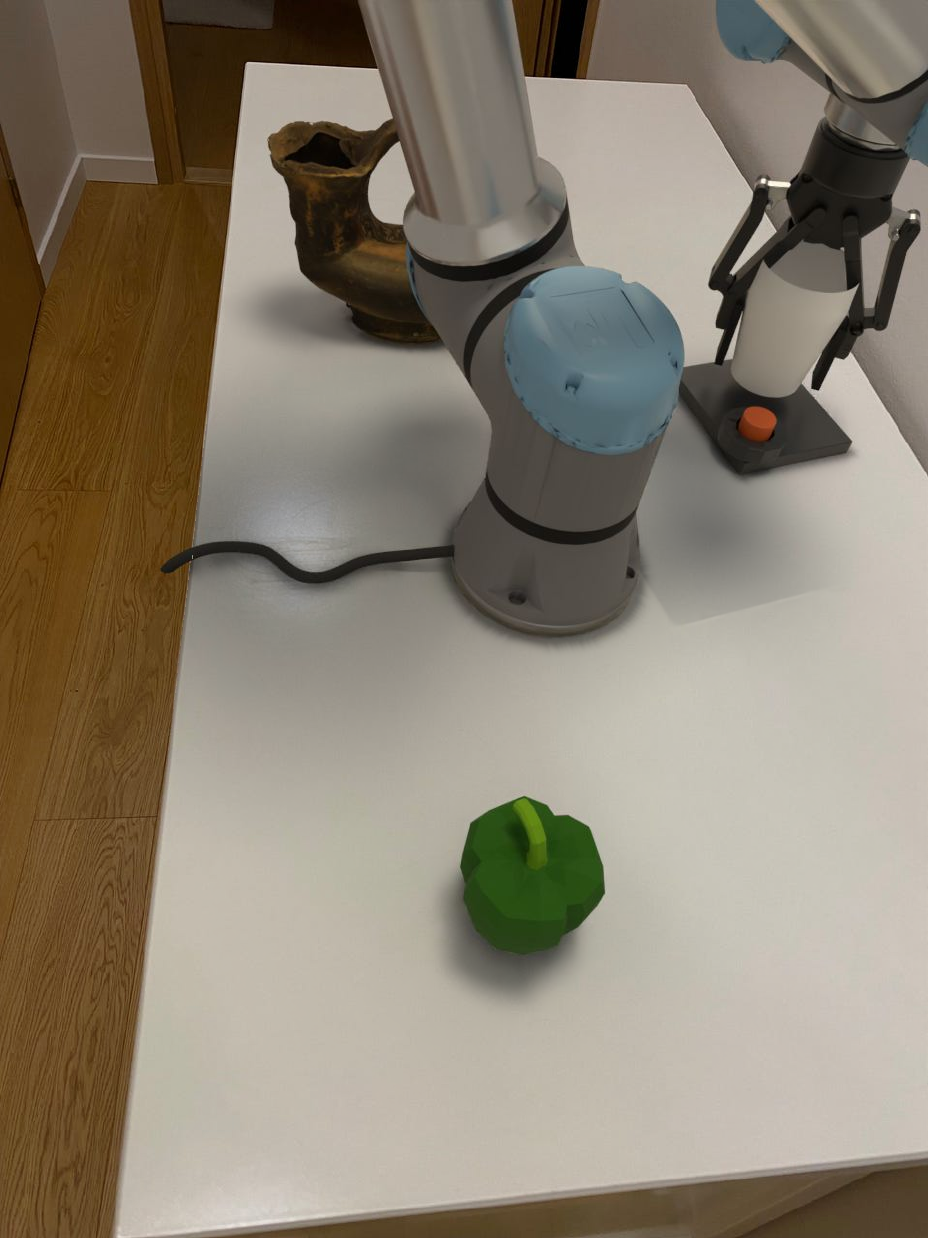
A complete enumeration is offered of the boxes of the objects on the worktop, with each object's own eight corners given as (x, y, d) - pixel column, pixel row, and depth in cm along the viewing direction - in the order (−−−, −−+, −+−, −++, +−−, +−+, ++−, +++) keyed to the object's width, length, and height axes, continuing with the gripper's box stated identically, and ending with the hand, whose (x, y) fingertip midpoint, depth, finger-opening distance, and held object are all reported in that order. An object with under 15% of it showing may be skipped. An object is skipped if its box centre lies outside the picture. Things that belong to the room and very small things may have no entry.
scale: (733, 480, 86) (744, 455, 84) (659, 381, 94) (668, 356, 92) (849, 455, 90) (863, 431, 87) (769, 362, 98) (779, 338, 95)
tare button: (748, 445, 85) (754, 430, 84) (731, 423, 87) (737, 408, 86) (776, 439, 86) (783, 425, 85) (759, 418, 88) (765, 403, 86)
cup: (812, 415, 88) (867, 303, 79) (716, 395, 89) (759, 281, 79) (809, 358, 94) (861, 246, 84) (719, 339, 94) (760, 226, 85)
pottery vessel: (274, 344, 92) (259, 137, 76) (280, 280, 98) (268, 77, 83) (529, 355, 95) (565, 157, 79) (518, 292, 101) (549, 98, 86)
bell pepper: (593, 971, 57) (632, 910, 50) (458, 978, 56) (476, 917, 49) (572, 842, 63) (605, 768, 55) (449, 846, 62) (464, 771, 54)
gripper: (1006, 138, 74) (879, 374, 92) (737, 78, 76) (664, 320, 94) (1013, 182, 69) (878, 421, 87) (727, 117, 72) (652, 363, 89)
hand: (767, 368), depth 91 cm, fingers closed on cup, 9 cm apart
